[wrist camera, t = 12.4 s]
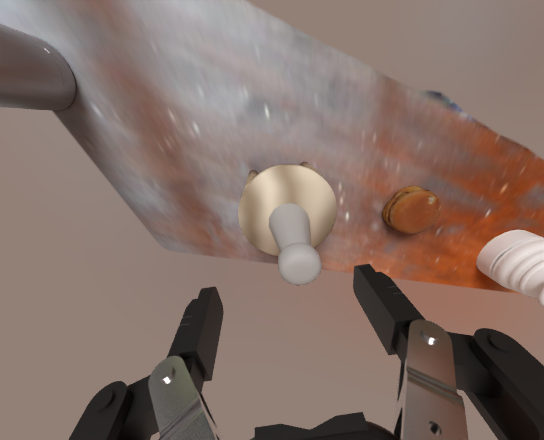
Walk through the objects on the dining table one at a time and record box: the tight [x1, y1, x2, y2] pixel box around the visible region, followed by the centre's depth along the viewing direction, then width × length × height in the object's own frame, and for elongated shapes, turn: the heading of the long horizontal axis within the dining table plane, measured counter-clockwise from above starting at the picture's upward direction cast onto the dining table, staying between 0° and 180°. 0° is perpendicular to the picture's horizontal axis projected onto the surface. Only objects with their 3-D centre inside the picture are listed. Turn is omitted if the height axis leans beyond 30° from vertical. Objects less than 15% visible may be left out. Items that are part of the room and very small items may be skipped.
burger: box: [383, 186, 441, 234], centre depth 40 cm, size 10×9×5 cm
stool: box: [238, 162, 337, 256], centre depth 35 cm, size 15×15×10 cm
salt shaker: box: [269, 203, 322, 285], centre depth 25 cm, size 6×6×13 cm
